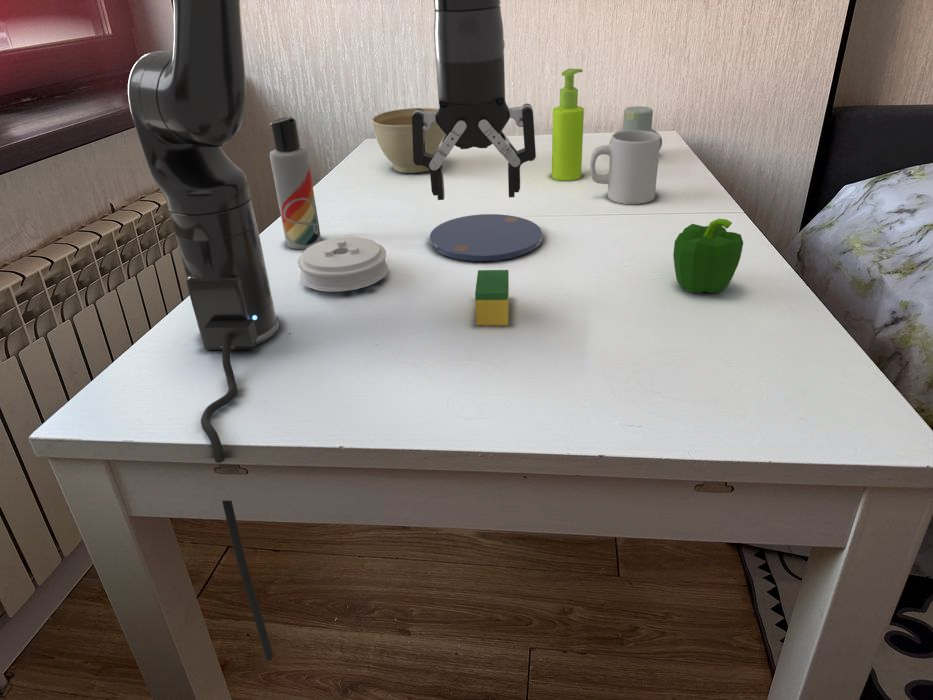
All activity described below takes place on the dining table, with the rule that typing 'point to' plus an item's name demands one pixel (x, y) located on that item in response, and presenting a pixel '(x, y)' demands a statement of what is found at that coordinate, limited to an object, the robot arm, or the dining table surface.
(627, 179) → the mug
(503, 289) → the sponge
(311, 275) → the lid
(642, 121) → the air freshener
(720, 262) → the bell pepper
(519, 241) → the plate
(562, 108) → the soap dispenser
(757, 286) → the dining table surface
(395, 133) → the planter bowl
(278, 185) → the lotion bottle
